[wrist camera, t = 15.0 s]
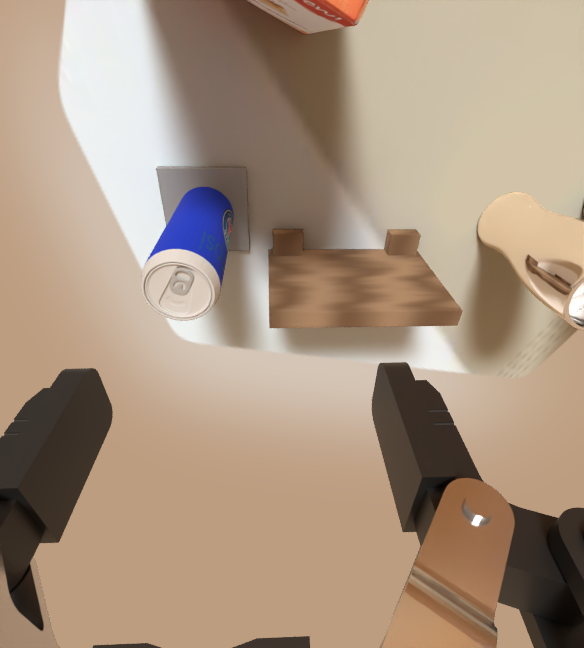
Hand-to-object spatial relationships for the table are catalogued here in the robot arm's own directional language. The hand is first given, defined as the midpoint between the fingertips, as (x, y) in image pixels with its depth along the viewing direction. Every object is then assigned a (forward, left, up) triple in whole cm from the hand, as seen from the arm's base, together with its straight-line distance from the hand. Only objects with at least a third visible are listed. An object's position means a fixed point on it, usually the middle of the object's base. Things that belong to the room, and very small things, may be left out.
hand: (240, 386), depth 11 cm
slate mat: (+5, +5, -29) cm, 30 cm away
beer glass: (-26, +6, -29) cm, 40 cm away
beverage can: (+5, +5, -29) cm, 29 cm away
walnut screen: (-9, +10, -29) cm, 32 cm away
